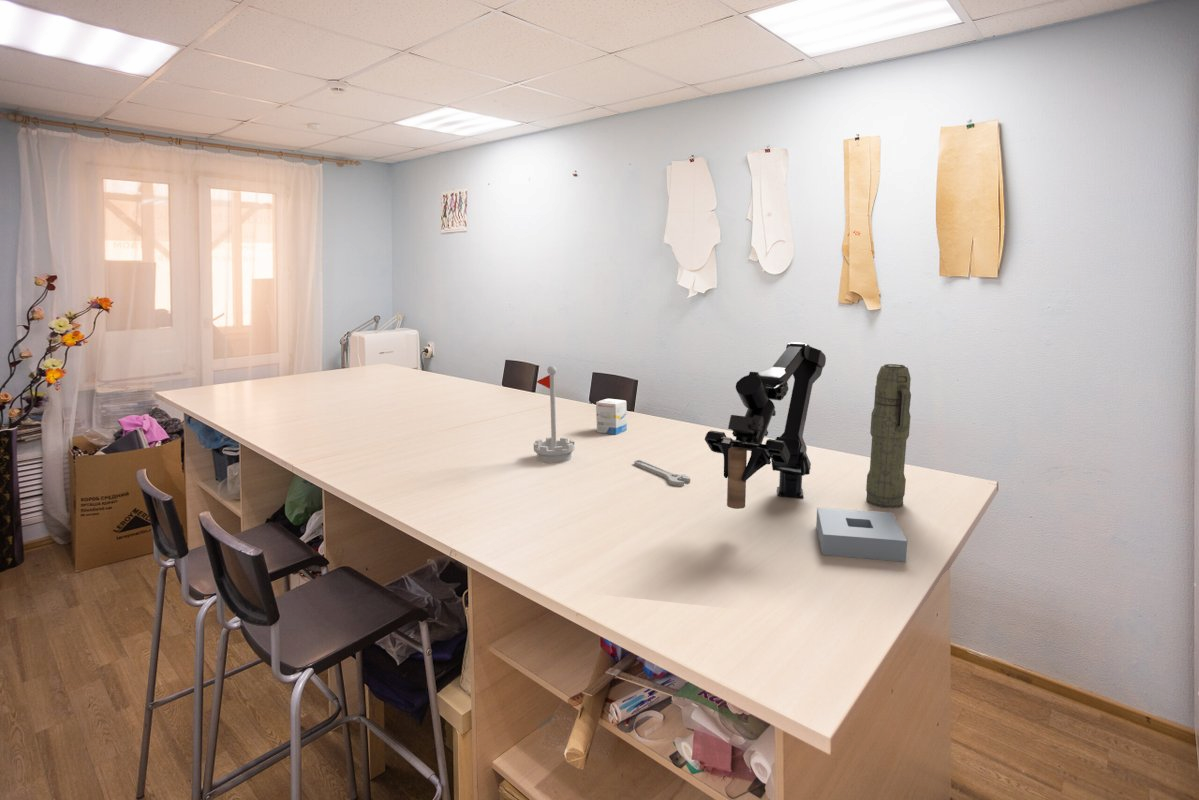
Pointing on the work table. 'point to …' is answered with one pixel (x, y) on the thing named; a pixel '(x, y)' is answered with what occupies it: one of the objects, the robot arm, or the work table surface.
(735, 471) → the pin
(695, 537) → the work table surface
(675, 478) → the adjustable wrench
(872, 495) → the thermos
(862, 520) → the hole block
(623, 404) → the ink box
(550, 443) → the flag stand
